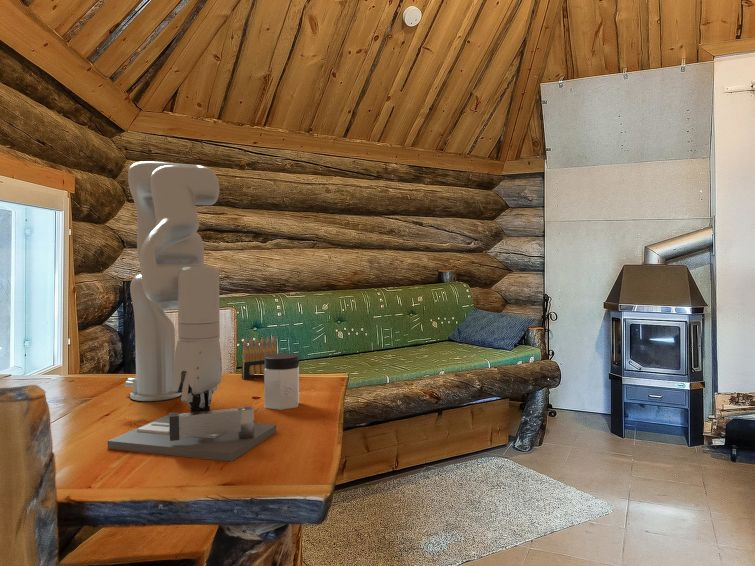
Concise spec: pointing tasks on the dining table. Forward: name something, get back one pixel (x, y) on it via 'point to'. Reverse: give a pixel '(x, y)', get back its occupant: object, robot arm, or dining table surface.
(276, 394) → the jar
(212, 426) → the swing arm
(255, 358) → the ammunition clip
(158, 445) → the label board
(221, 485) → the dining table surface
